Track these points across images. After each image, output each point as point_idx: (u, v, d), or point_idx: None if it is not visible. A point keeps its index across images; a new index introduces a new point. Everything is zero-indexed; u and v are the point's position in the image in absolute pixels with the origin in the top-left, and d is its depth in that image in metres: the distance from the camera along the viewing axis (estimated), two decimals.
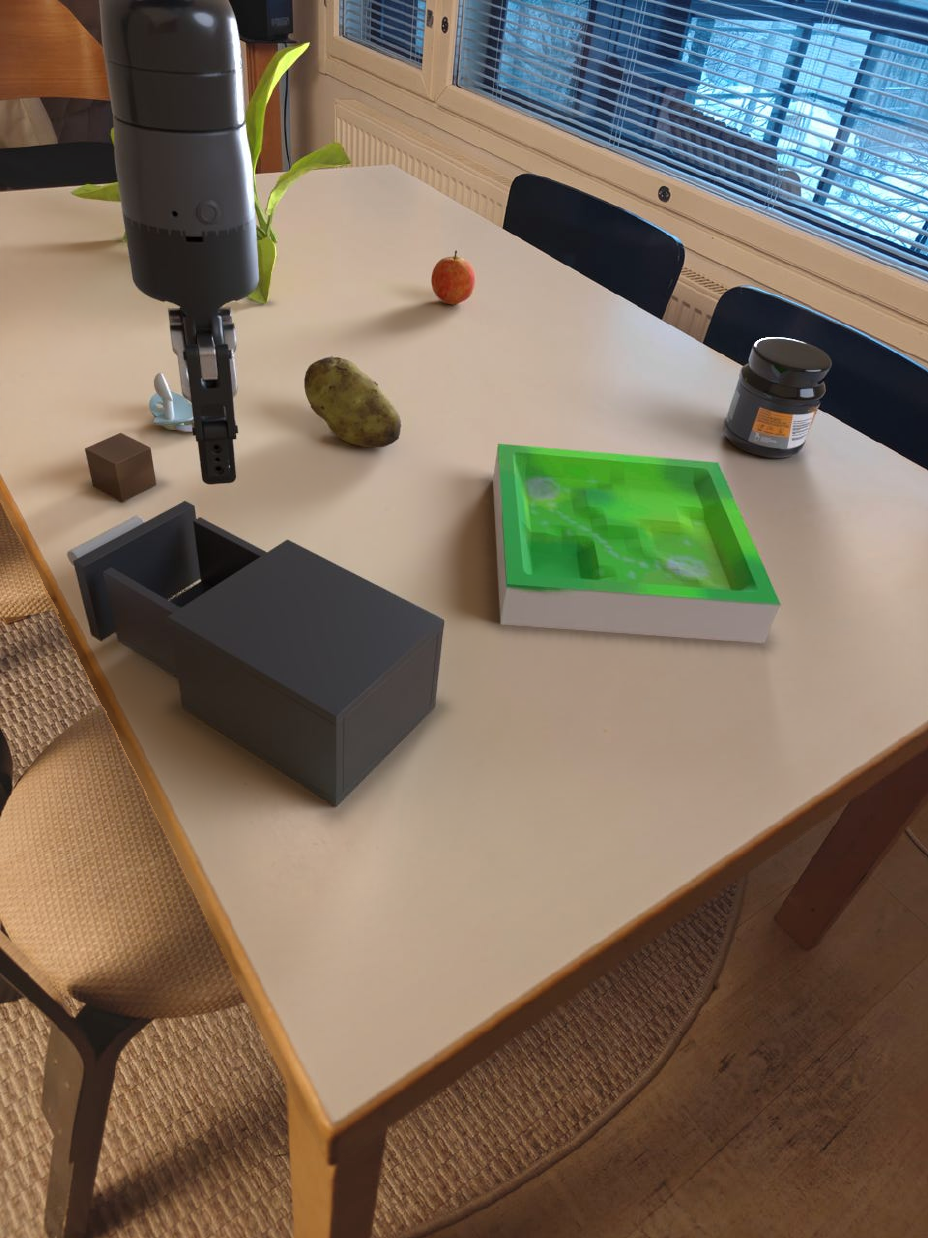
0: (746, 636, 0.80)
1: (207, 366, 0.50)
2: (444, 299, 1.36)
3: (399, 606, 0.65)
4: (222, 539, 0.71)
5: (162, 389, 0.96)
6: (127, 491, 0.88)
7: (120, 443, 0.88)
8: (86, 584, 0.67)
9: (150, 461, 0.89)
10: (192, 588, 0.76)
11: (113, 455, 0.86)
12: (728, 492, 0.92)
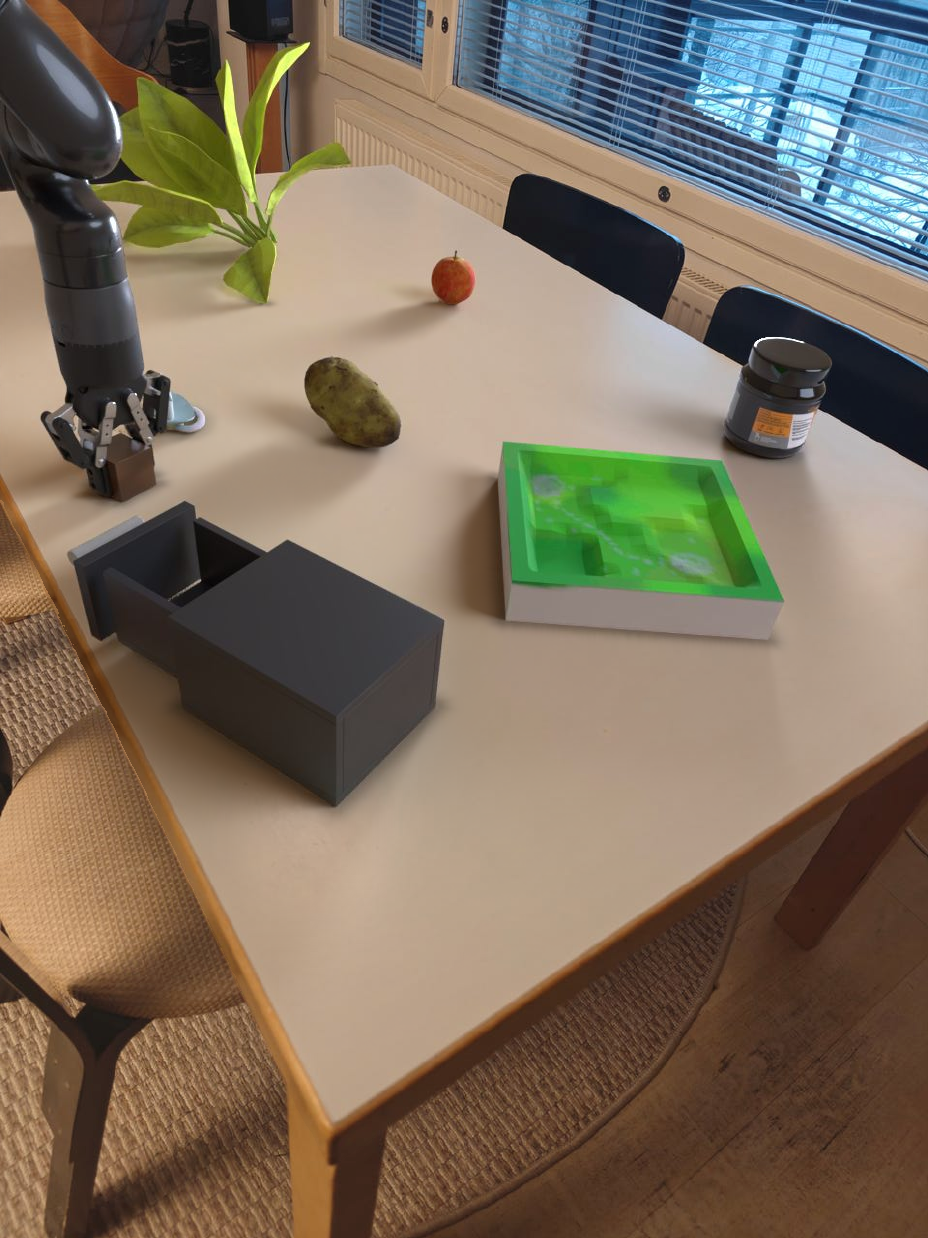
0: (750, 633, 0.81)
1: (51, 428, 0.80)
2: (444, 299, 1.36)
3: (399, 606, 0.65)
4: (222, 539, 0.71)
5: None
6: (127, 491, 0.88)
7: (120, 443, 0.88)
8: (86, 584, 0.67)
9: (150, 461, 0.89)
10: (192, 588, 0.76)
11: (113, 455, 0.86)
12: (732, 490, 0.92)
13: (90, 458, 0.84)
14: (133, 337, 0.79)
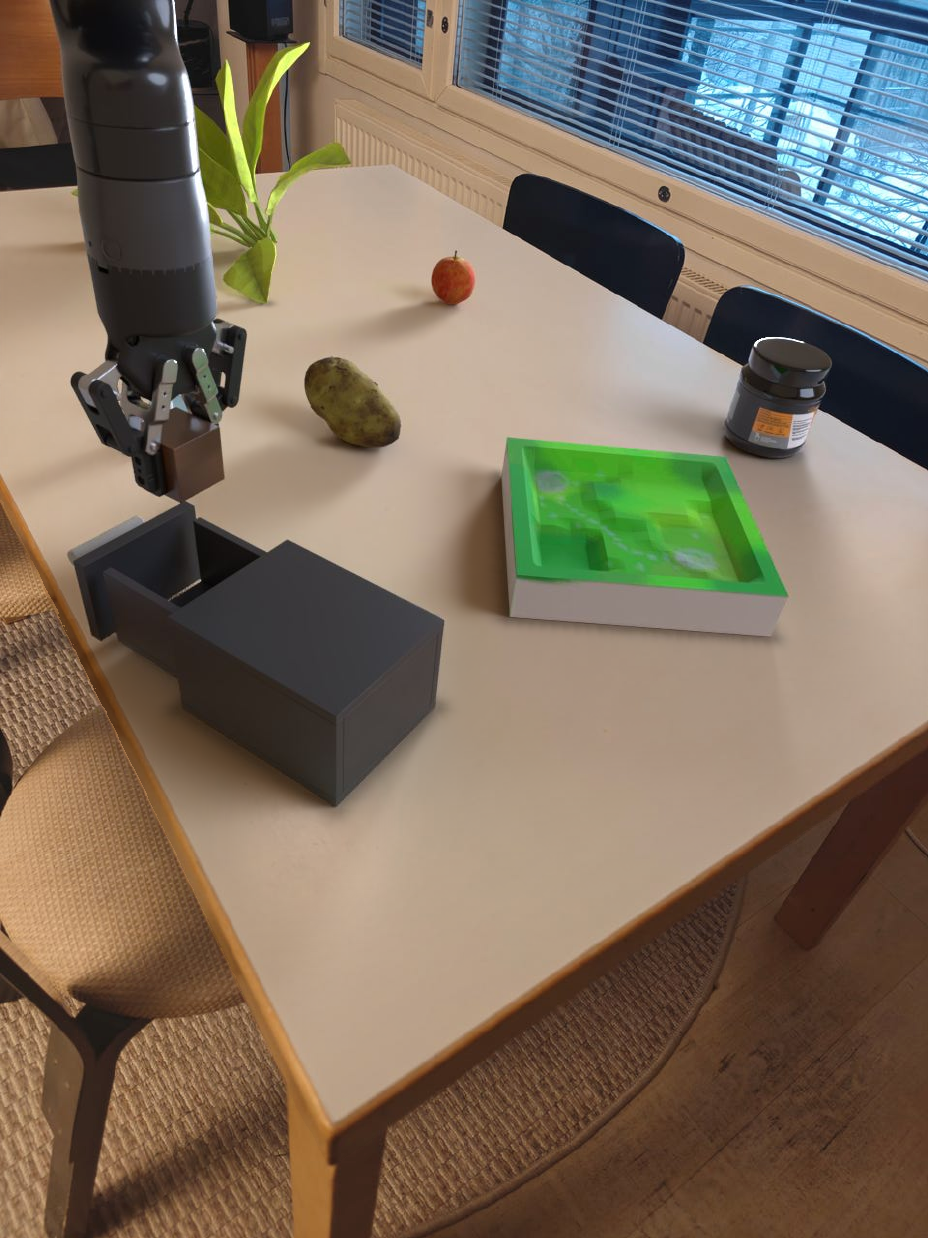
0: (754, 628, 0.81)
1: (86, 397, 0.55)
2: (444, 299, 1.36)
3: (399, 606, 0.65)
4: (222, 539, 0.71)
5: None
6: (188, 488, 0.63)
7: (176, 421, 0.63)
8: (86, 584, 0.67)
9: (218, 446, 0.64)
10: (192, 588, 0.76)
11: (170, 438, 0.61)
12: (736, 486, 0.93)
13: (139, 441, 0.59)
14: (206, 262, 0.54)
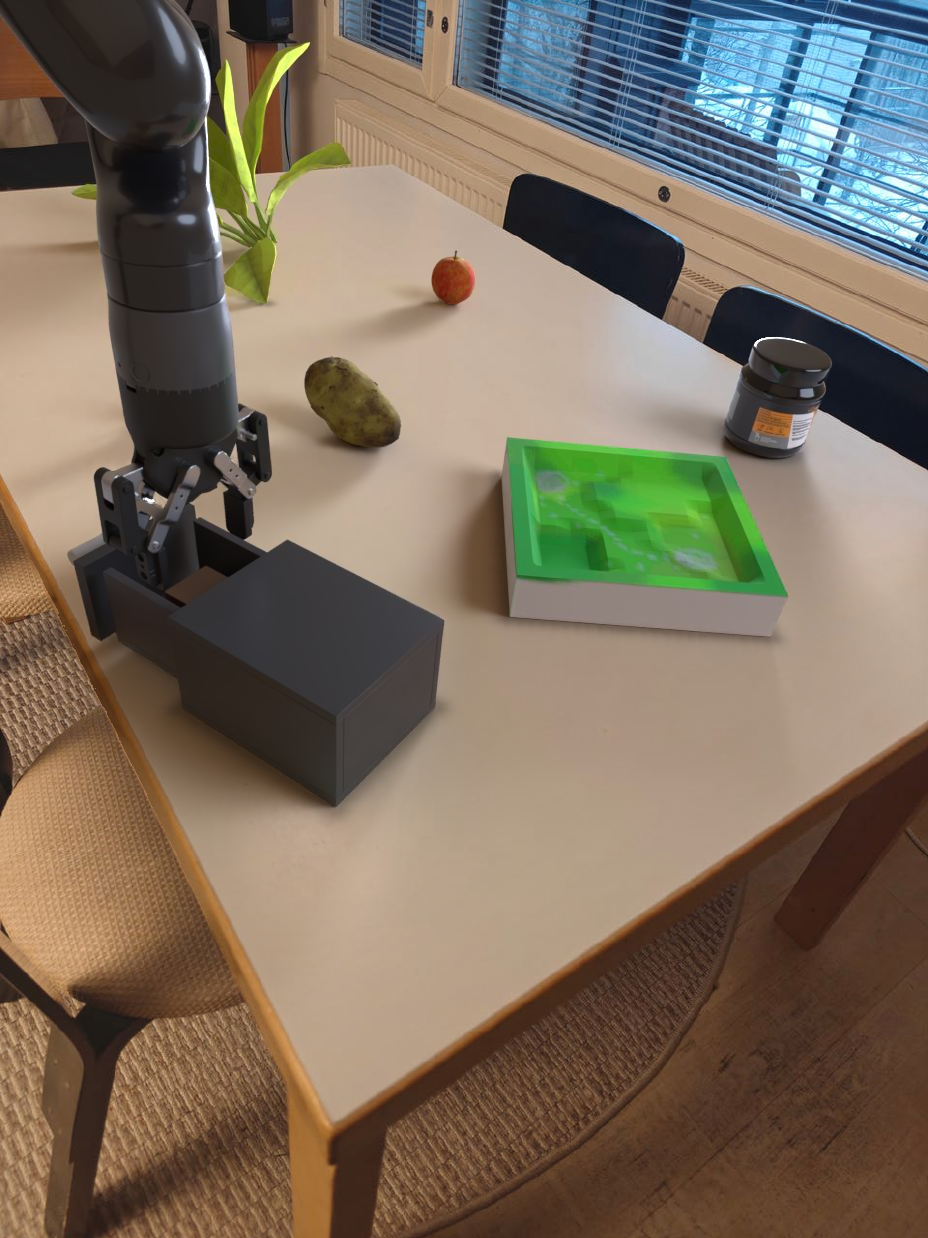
0: (754, 628, 0.81)
1: (106, 491, 0.56)
2: (444, 299, 1.36)
3: (399, 606, 0.65)
4: (222, 539, 0.71)
5: None
6: None
7: (207, 582, 0.70)
8: (86, 584, 0.67)
9: None
10: None
11: None
12: (736, 486, 0.93)
13: (142, 541, 0.60)
14: (230, 378, 0.56)
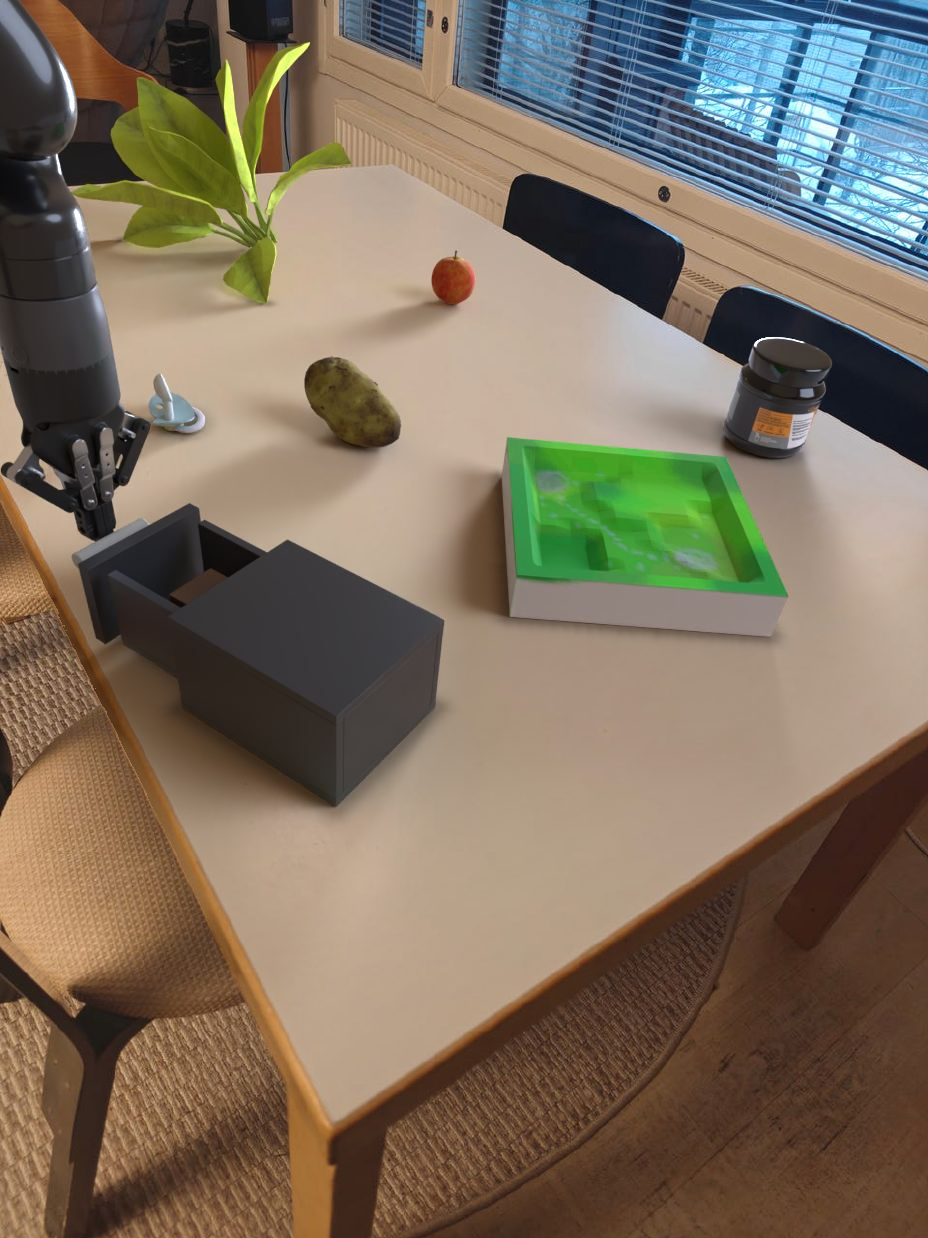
0: (754, 628, 0.81)
1: (17, 483, 0.65)
2: (444, 299, 1.36)
3: (399, 606, 0.65)
4: (227, 541, 0.71)
5: (162, 390, 0.96)
6: None
7: (212, 585, 0.69)
8: (91, 587, 0.67)
9: None
10: None
11: None
12: (736, 486, 0.93)
13: (78, 499, 0.70)
14: (105, 360, 0.63)
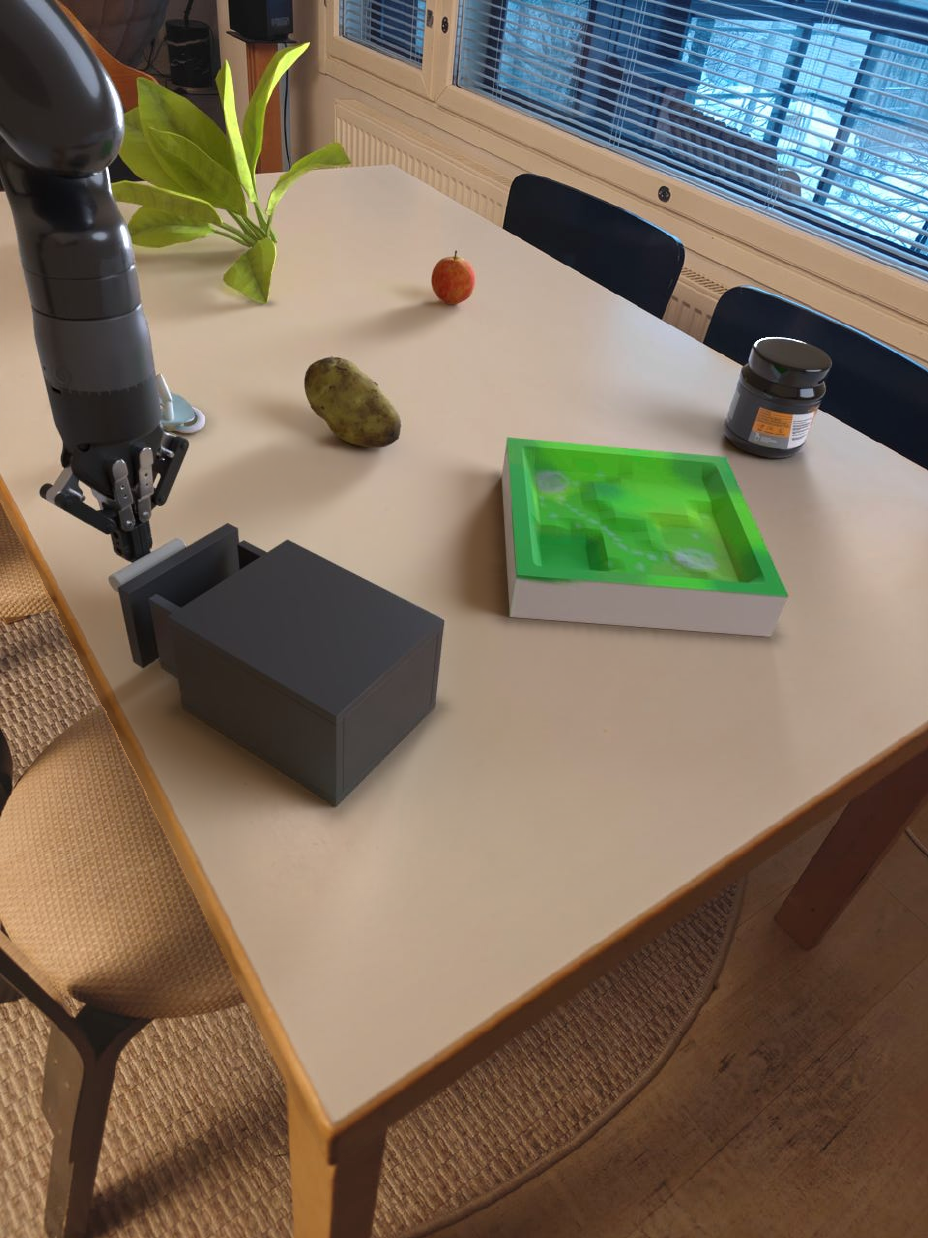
0: (754, 628, 0.81)
1: None
2: (444, 299, 1.36)
3: (399, 606, 0.65)
4: None
5: (162, 390, 0.96)
6: None
7: None
8: (130, 611, 0.66)
9: None
10: None
11: None
12: (736, 486, 0.93)
13: (116, 520, 0.68)
14: (148, 380, 0.61)
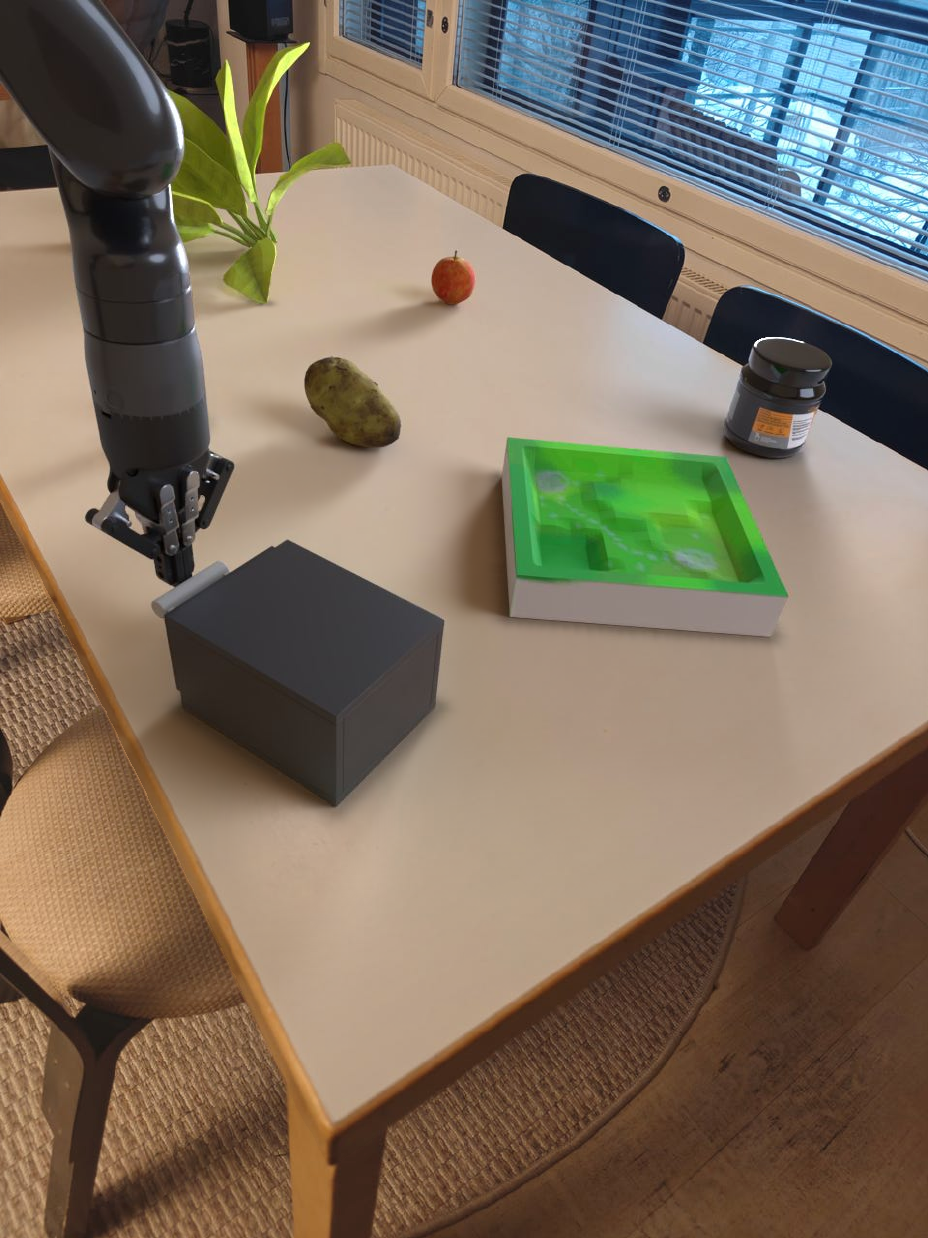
0: (754, 628, 0.81)
1: (102, 531, 0.62)
2: (444, 299, 1.36)
3: (399, 606, 0.65)
4: None
5: None
6: None
7: None
8: None
9: None
10: None
11: None
12: (736, 486, 0.93)
13: (160, 544, 0.66)
14: (200, 404, 0.60)
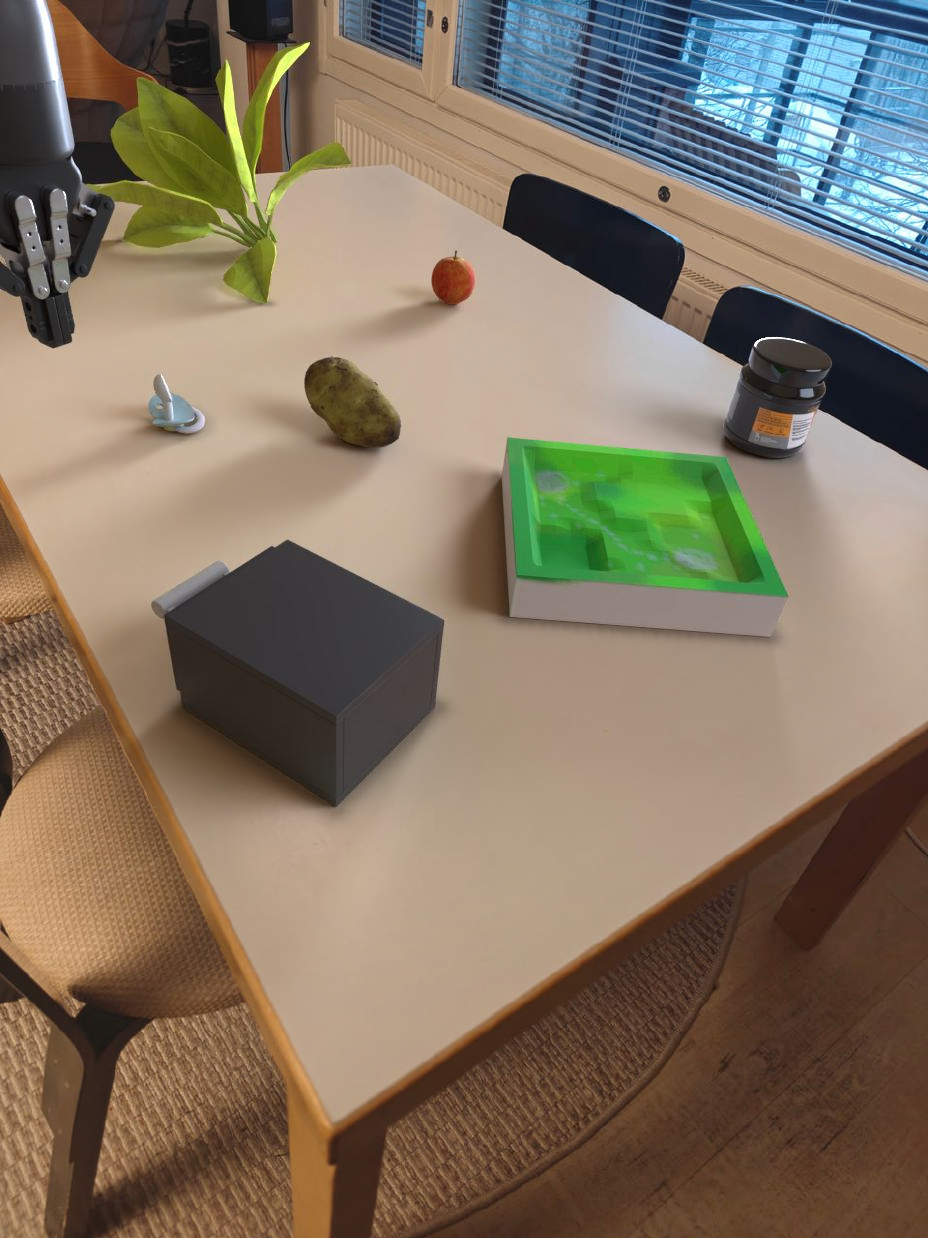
0: (754, 628, 0.81)
1: None
2: (444, 299, 1.36)
3: (399, 606, 0.65)
4: None
5: (162, 391, 0.96)
6: None
7: None
8: None
9: None
10: None
11: None
12: (736, 486, 0.93)
13: (26, 282, 0.58)
14: (52, 85, 0.52)
